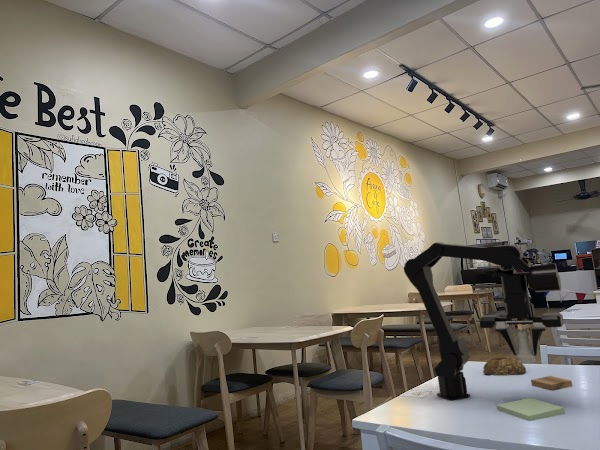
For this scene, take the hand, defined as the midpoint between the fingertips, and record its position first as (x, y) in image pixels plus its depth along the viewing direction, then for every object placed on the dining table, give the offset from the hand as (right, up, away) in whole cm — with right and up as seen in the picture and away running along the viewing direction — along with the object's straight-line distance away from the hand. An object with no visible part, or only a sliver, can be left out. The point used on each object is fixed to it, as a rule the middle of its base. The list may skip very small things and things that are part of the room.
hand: (525, 355), depth 111 cm
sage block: (-3, -12, -8) cm, 15 cm away
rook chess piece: (0, -2, 0) cm, 2 cm away
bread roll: (+10, -15, +32) cm, 37 cm away
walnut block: (+13, -12, +11) cm, 21 cm away
